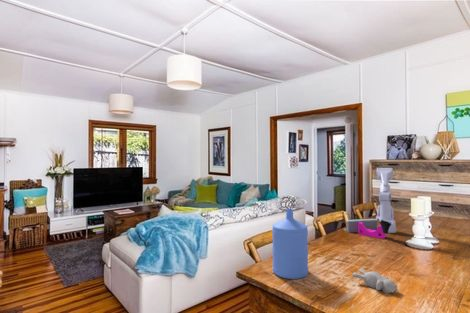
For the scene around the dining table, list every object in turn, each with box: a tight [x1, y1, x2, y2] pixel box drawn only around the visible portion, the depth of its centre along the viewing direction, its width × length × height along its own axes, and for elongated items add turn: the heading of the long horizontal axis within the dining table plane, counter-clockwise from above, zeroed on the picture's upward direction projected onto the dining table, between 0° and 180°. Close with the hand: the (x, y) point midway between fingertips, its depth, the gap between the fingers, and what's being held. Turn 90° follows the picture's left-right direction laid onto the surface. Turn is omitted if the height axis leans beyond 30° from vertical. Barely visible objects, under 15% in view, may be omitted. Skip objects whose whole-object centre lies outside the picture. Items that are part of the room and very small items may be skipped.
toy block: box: [357, 222, 387, 240], centre depth 176 cm, size 15×6×8 cm, turn 47°
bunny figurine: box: [352, 268, 398, 294], centre depth 106 cm, size 10×5×15 cm
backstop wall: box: [343, 218, 378, 233], centre depth 188 cm, size 22×6×8 cm, turn 100°
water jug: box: [271, 208, 309, 280], centre depth 120 cm, size 16×16×28 cm
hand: (385, 233), depth 167 cm, fingers closed
